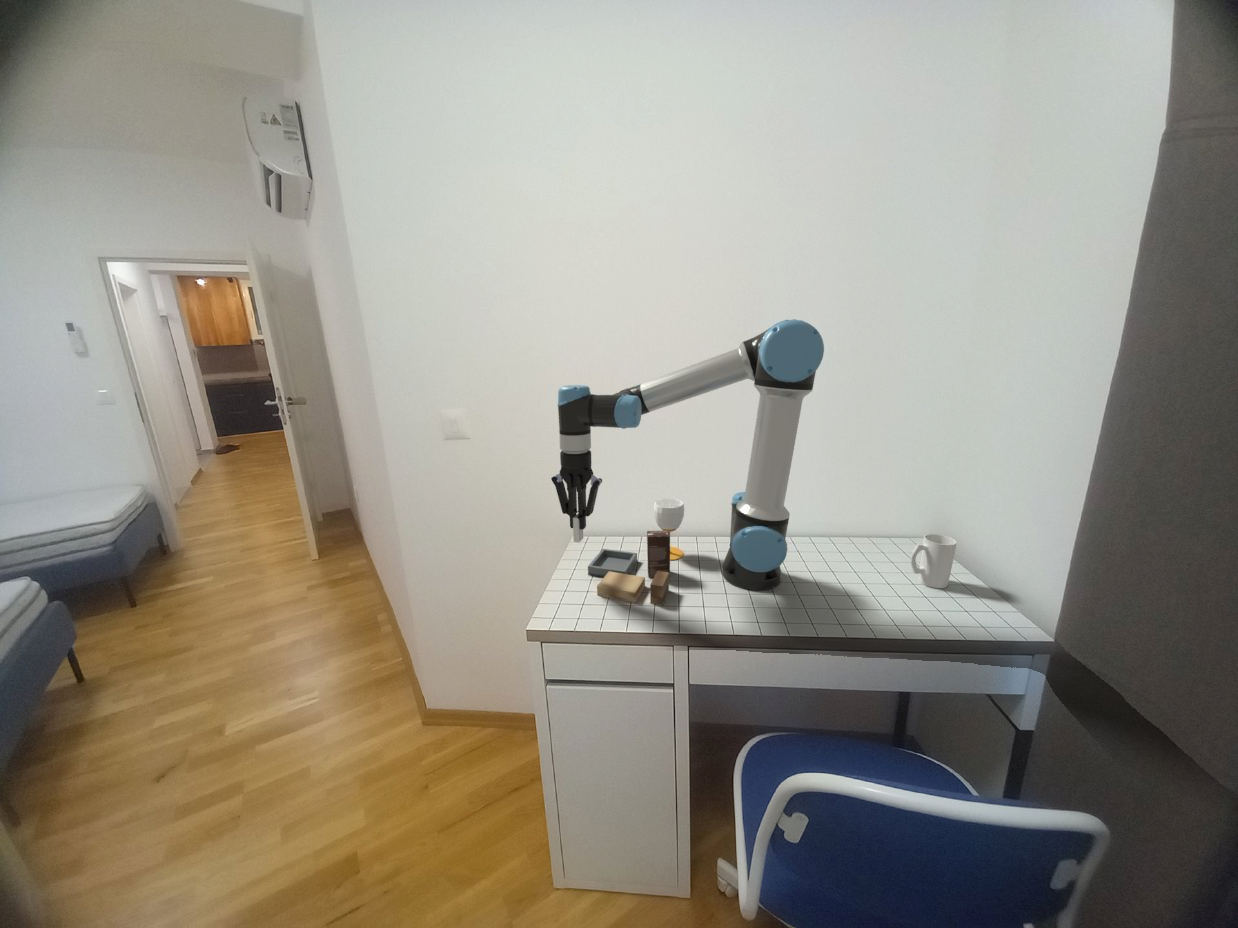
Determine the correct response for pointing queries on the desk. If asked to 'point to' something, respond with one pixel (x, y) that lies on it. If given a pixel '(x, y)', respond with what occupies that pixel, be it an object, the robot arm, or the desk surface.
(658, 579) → the brown rectangular block
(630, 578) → the light brown wooden block
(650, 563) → the box
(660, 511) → the cup
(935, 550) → the mug
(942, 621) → the desk surface
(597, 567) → the tray
